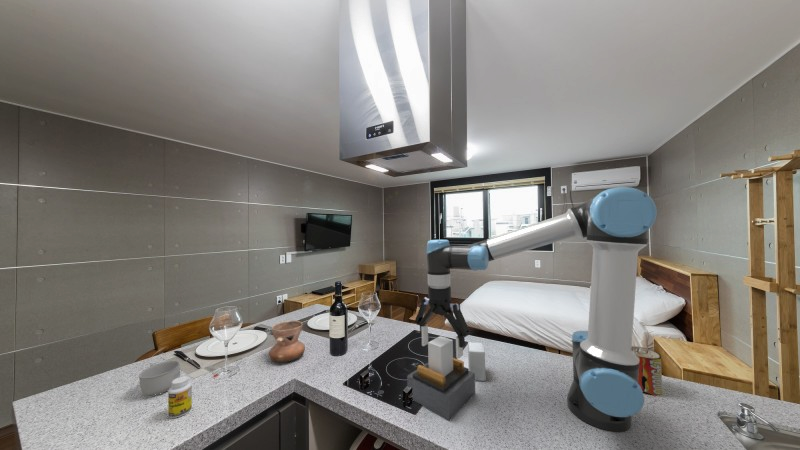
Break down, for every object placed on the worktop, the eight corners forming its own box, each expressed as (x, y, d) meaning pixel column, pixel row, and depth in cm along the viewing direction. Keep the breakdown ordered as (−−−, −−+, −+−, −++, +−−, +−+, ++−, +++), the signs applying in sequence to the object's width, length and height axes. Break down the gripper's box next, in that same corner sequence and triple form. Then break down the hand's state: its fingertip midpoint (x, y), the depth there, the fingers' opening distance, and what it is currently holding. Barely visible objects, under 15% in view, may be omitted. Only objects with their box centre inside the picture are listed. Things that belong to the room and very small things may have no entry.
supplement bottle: (163, 420, 77) (163, 386, 78) (175, 408, 83) (175, 375, 83) (185, 417, 79) (185, 383, 79) (195, 405, 84) (195, 373, 84)
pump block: (453, 369, 87) (452, 339, 88) (441, 379, 82) (440, 347, 82) (440, 364, 91) (440, 335, 91) (428, 373, 86) (428, 342, 86)
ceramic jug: (295, 367, 106) (295, 332, 106) (260, 367, 106) (260, 332, 107) (311, 348, 124) (311, 317, 124) (281, 348, 124) (281, 317, 125)
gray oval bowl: (182, 389, 93) (182, 366, 93) (139, 404, 85) (139, 380, 85) (176, 374, 102) (176, 354, 102) (137, 387, 94) (137, 365, 94)
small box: (485, 381, 94) (485, 352, 94) (469, 380, 95) (469, 351, 95) (483, 369, 102) (482, 342, 102) (468, 368, 103) (467, 341, 103)
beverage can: (625, 388, 89) (624, 352, 89) (626, 376, 95) (625, 343, 95) (662, 399, 83) (661, 361, 83) (661, 386, 89) (660, 351, 89)
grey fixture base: (475, 394, 87) (474, 362, 87) (449, 420, 75) (448, 384, 75) (435, 376, 98) (435, 348, 98) (407, 397, 86) (406, 365, 86)
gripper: (479, 288, 81) (482, 357, 81) (417, 280, 98) (419, 337, 98) (467, 293, 76) (470, 367, 75) (404, 283, 93) (405, 343, 92)
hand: (441, 350), depth 87 cm, fingers open, 13 cm apart
